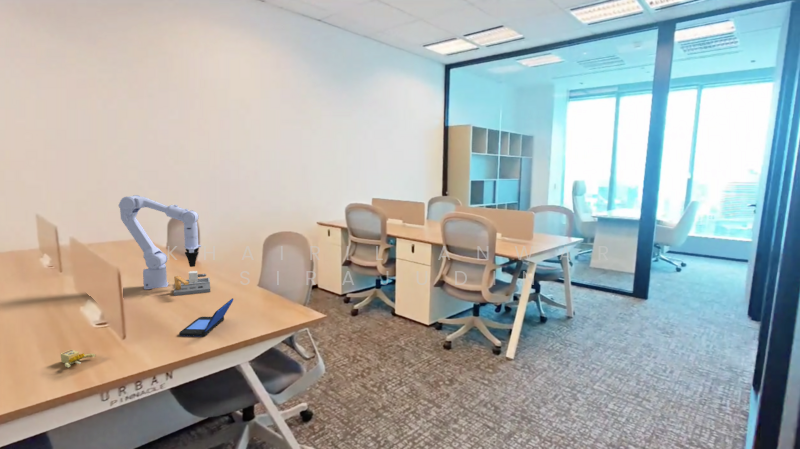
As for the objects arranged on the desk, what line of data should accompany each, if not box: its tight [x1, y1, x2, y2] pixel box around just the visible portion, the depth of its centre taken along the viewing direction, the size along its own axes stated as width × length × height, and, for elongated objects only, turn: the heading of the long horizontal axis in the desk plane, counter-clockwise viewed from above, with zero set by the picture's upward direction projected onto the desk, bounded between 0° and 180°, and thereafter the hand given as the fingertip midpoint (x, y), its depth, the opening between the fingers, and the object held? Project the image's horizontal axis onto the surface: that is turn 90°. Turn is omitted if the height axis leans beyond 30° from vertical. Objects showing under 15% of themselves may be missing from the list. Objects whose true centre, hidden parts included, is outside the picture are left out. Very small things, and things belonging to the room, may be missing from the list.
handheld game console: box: [178, 298, 234, 338], centre depth 146 cm, size 16×13×9 cm
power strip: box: [173, 283, 211, 297], centre depth 186 cm, size 14×9×2 cm, turn 116°
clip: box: [174, 275, 189, 290], centre depth 179 cm, size 13×2×6 cm, turn 45°
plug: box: [188, 270, 207, 283], centre depth 197 cm, size 7×4×6 cm, turn 116°
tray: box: [181, 277, 211, 286], centre depth 196 cm, size 14×8×2 cm, turn 116°
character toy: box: [60, 349, 96, 368], centre depth 119 cm, size 8×3×8 cm
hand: (192, 264), depth 195 cm, fingers open, 7 cm apart
